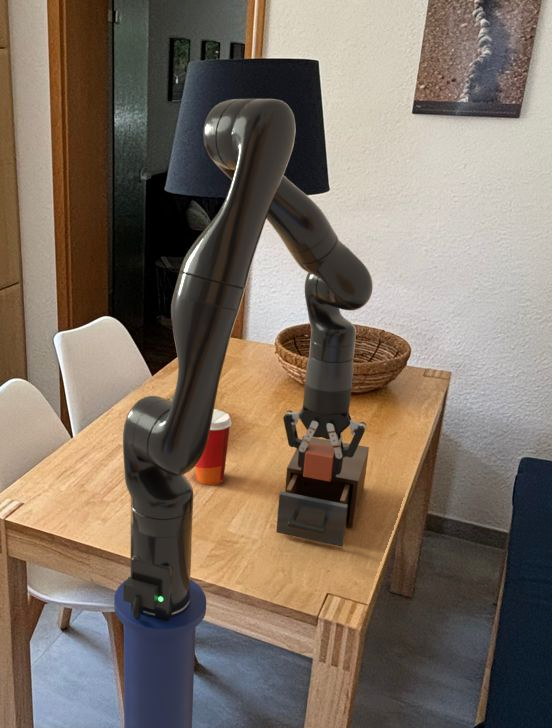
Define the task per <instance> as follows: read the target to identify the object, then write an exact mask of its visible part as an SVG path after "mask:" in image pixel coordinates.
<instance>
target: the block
mask: <svg viewBox="0 0 552 728" xmlns="http://www.w3.org/2000/svg"><path fill="white" fill-rule="evenodd" d="M334 456H335V453H334V449H333V447H332V446H329V445H323V444H318V443H312V442H310V444H309V447H308V449H307V451H306V453H305V462H304V473H303V477H308V478H313V479H318V480H324V481H329V482H330V481H331V478H332V468H333V459H334Z"/></svg>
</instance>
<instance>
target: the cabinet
mask: <svg viewBox="0 0 552 728" xmlns="http://www.w3.org/2000/svg"><path fill="white" fill-rule="evenodd" d="M304 436H305V435H302V437H301V438H300V439H301V440H303V438H304ZM310 442H312V443H318V444H323V445H329V446H332V445H331V441H330V440H328V439H325V438H316V437H312V439H311V441H310ZM309 444H310V443H309ZM343 445H344V447H349V445H350V443H348V442H343ZM308 447H309V445H308ZM369 450H370V447H369V446H365V445H358V447H357V449H356V451H355V453H354V456H353V457H351V458H349V457H344V458H343V463H342V470H341V472H340V474H339V475H338V474H337V475H336V477H332V478H331V480H334V481H340V482H345V483H350V484H353V486H352V495H351V503H350V509H349V512H348V515H347V518H346V524H345V527H348V528H354V525H355V524H354V523H355V521H356V517H357V514H358V510H359V507H360V504H361V501H362V496H363V493H364V489H365V483H366V475H367V467H368V466H367V465H368V458H369ZM298 455H299V451H298V449H297V448H295V451H294V453H293V455H292V457H291V459H290V460H289V463H288V464H287V466H286V475H285V488H284V492H286V489H287V487H288V485H289V483H290V481H291V479H292V477H293V475H294V473H297V474H303V473H304V471H301V467H298Z"/></svg>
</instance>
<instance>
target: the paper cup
mask: <svg viewBox="0 0 552 728" xmlns="http://www.w3.org/2000/svg"><path fill="white" fill-rule="evenodd" d="M232 423H233V422H232V420H231V417H230V414H229V413H226V412H225V411H223V410H220V409H215V408H214V412H213V417H212V423H211V428H210V433H209V437H208V441H207V444H206V447H205V450H204V452H203V454H202V456H201V458H200V460H199V462H198V463H197V464H196V465H195V467H194V469H195V479H196V481H197V482H198V483H200V484H202V485H205V486H216V485H219V484H221V483H222V482H223V481H224V478H225V470H226V464H227V463H226V462H227V455H228V454H227V453H228V445H229V438H230V437H229V436H230V428H231V426H232Z"/></svg>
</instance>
